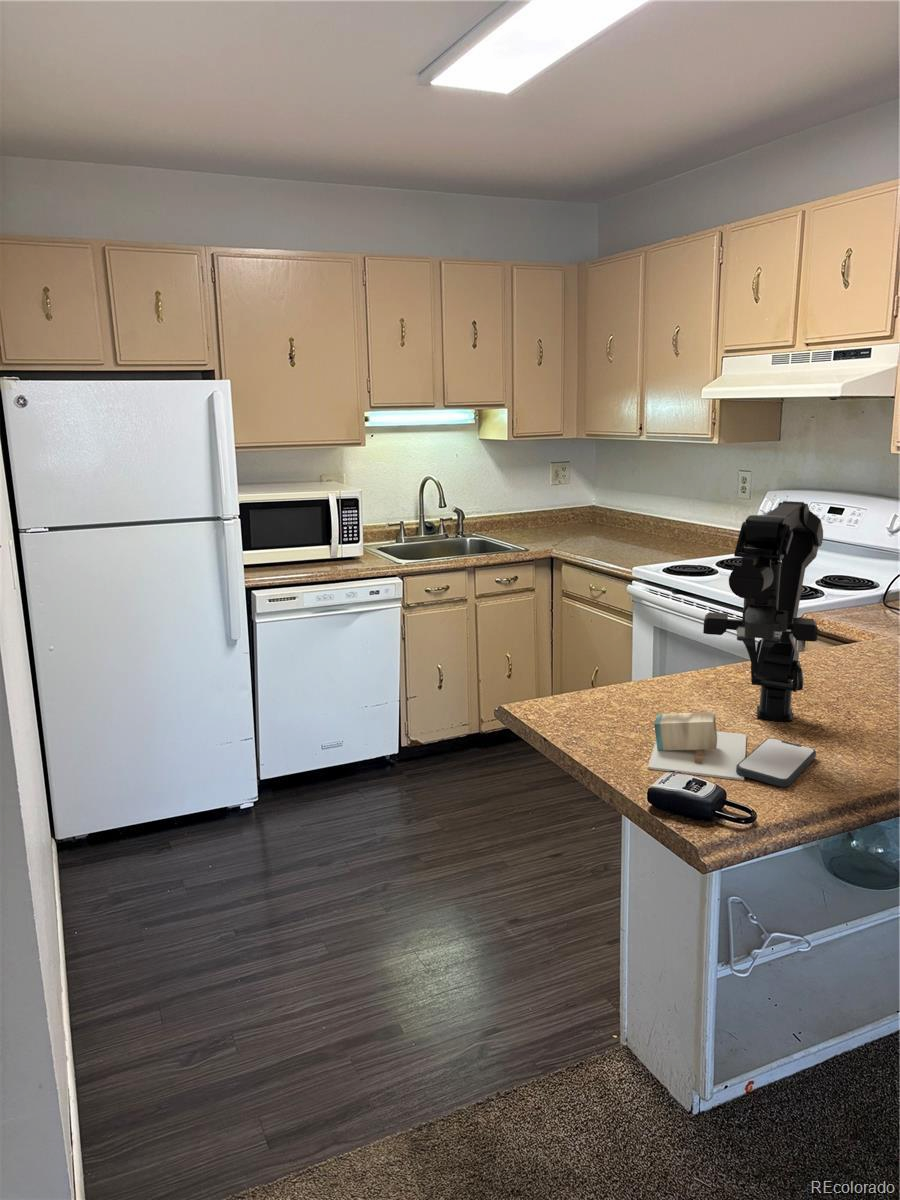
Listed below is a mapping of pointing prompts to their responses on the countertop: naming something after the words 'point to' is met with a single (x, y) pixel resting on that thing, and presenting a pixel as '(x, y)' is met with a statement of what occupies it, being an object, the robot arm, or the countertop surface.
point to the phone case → (776, 762)
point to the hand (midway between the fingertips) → (756, 672)
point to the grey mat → (704, 758)
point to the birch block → (686, 731)
